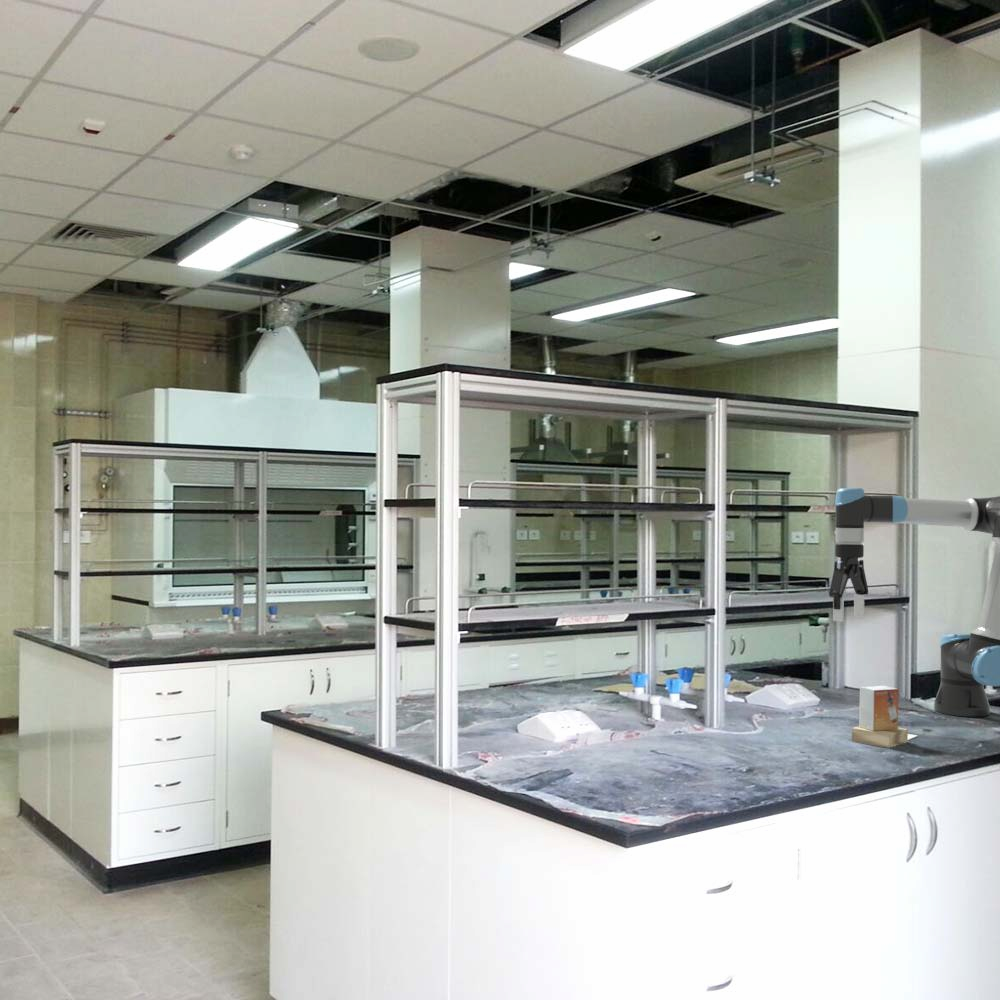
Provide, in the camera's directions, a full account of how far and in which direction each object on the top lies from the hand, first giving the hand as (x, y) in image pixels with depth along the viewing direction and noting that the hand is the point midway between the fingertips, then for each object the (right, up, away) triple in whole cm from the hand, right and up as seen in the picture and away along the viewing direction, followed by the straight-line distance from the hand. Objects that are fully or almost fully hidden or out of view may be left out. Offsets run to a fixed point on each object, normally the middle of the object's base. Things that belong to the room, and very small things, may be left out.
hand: (848, 619), depth 292 cm
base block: (0, -29, -24) cm, 38 cm away
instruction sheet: (+6, -29, -16) cm, 34 cm away
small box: (0, -26, -23) cm, 35 cm away
